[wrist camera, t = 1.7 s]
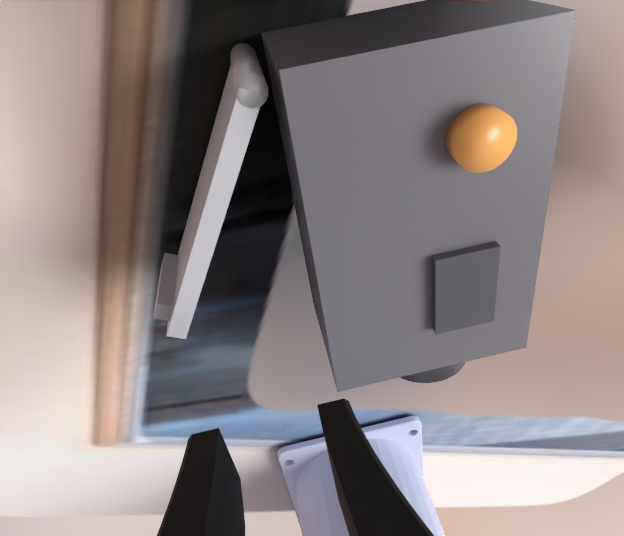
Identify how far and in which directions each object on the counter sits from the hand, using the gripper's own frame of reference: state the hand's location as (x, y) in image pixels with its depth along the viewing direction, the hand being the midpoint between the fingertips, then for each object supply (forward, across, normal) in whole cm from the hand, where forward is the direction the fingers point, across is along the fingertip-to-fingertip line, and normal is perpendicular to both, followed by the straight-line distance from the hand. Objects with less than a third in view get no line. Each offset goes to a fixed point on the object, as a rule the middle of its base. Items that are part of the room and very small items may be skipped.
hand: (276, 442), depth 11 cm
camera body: (+9, -5, -2) cm, 11 cm away
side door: (+9, +1, -3) cm, 10 cm away
